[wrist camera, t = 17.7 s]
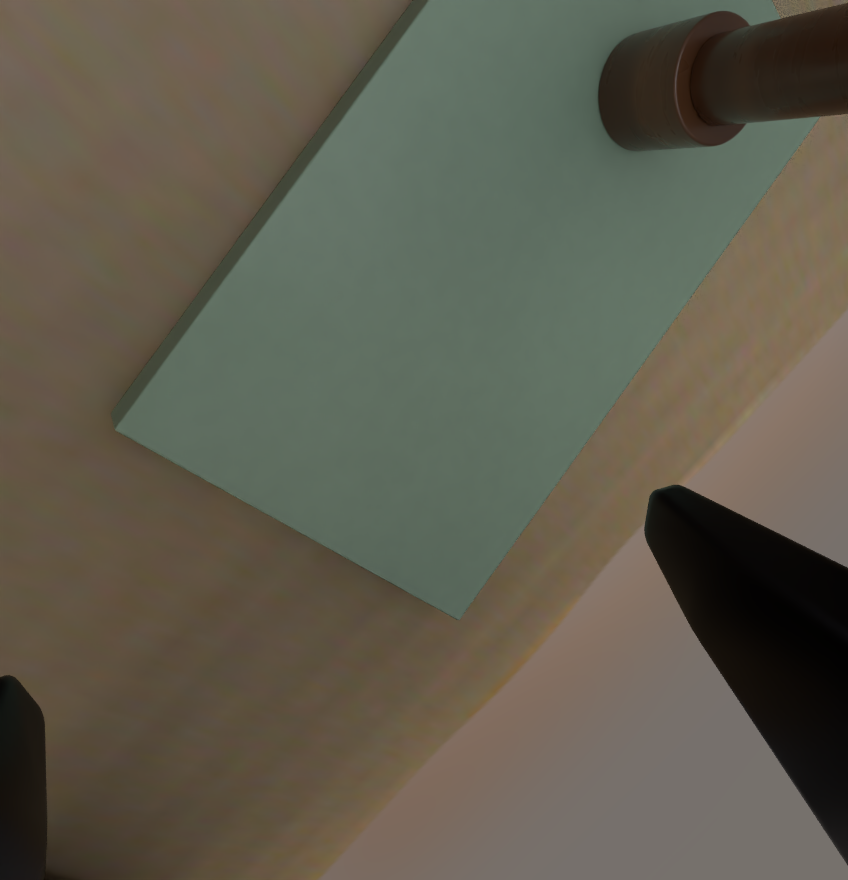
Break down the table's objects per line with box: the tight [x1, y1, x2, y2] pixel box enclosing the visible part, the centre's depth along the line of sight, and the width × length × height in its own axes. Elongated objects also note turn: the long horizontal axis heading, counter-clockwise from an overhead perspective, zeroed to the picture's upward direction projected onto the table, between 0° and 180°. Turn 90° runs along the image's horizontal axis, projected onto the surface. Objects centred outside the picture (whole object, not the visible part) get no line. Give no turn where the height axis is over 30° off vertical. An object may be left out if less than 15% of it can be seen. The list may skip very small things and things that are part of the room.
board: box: [111, 0, 821, 620], centre depth 21 cm, size 22×13×2 cm, turn 140°
